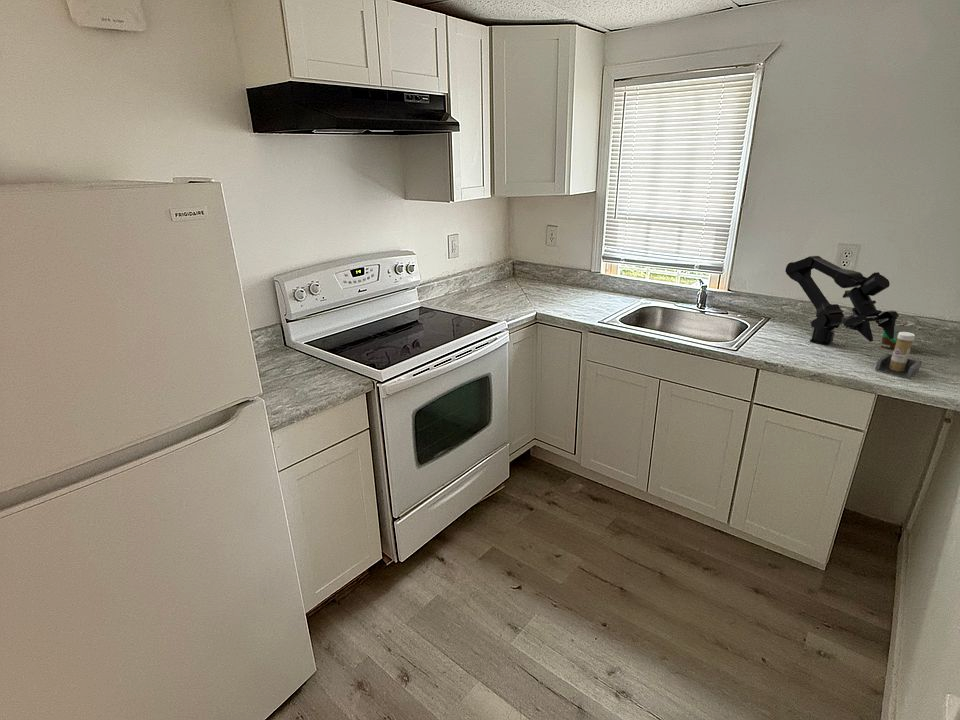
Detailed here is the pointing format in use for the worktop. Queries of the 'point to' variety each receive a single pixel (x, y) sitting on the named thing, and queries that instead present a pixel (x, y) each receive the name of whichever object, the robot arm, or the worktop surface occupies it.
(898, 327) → the food container
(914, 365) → the dark grey shallow tray
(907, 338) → the sprinkles bottle
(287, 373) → the worktop surface
